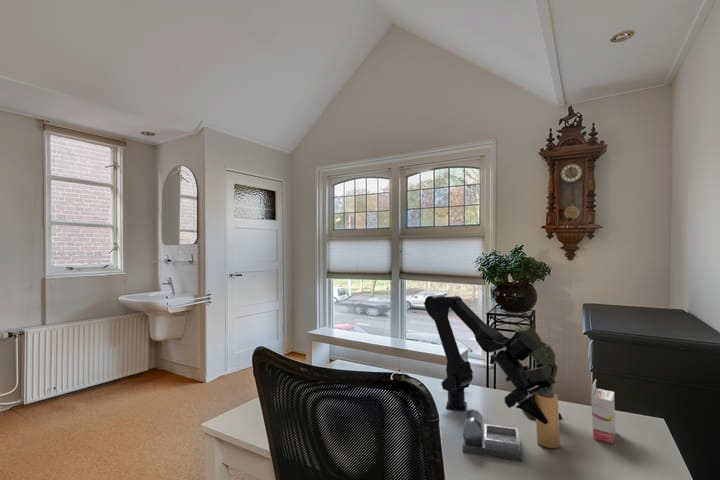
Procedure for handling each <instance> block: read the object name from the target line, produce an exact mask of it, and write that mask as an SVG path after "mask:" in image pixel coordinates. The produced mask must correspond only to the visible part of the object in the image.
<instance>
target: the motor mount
mask: <svg viewBox="0 0 720 480" xmlns="http://www.w3.org/2000/svg"><path fill="white" fill-rule="evenodd" d="M463 422H464V424H463V431H462V435H463V436H462V453H465V454H469V455H470V454H471V455H477V456H483V457H489V458H496V459H501V460H508V461H509V460H510V461H516V462H519V463H520V462H522V450H521V449H522V448H521V441H520V434H519V430H518V427H510V426H509V427H508V426H502V425H494V424H487V423H484V426H483V417H482V414H481V413H480V412H479V411H478V410H476V409H469V410H466V412H465V415H464V421H463Z"/></svg>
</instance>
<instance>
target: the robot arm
mask: <svg viewBox="0 0 720 480" xmlns="http://www.w3.org/2000/svg"><path fill="white" fill-rule="evenodd" d="M423 303H424V308H425V310H426V312H427V314H428V316H429V317H430V318H431V319H432V320H433V321H434V323H435V326H436V329H437V332H438V336H439V339H440V342H441V345H442V348H443V351H444V354H445V358H446V361H447V362H446V368H445V372H446V378H445V379H443V381H442V382H441V383H440V384H441V387H442V390H445V391H447V402H446V406H445V409H448V410H455V411H464V412H465V411H467V404H468V403H467V401H465V400H466V399H465V396H466V395H465V389H466V388H469V387H470V385H471V384H470V383H472V381H473V379H474V376H473V374H474V371H473V369H472V366H471V363H470V361H469V360H467V361H466V360H464V359H463V357H462V355H461V353H460V349H459V347H458V344H457V341H456V337H455V334H454V331H453V328H452V326H451V322H450V320H449V313H450V310H451V311H452V312H453V313H454V314H455V315H456V316H457V317H458V318H459V319H460V320H461V321H462V323H464V325H465V326H467V328H468V329H469V330H470V331H471V332H472V333H473V335H474V338H475V341H476V343H477V344H478V346H479V347H480V348H481V350H483V352H484V353H493V352H497V351H498V352H497V353H494V354H490V355H489V356H490V359H489V364H490V366H491V365H494V364H497V365H498V367H499V368H500V369H501V371H502V372H503V373H504V375H505V376H506V378H505V381H506V382H507V383H509V382H510V383H511V384H512V386H513V387H514V388H515V389H513V390H512V391H510V392H509V393H508V394H507V395H505V397H504V399H503V400H504V404H506V406H507V408H508V409H511V408H513V407H515V408H516V409H519V410H522V412H523V411H525V412H527V413H528V414H530V415H532V416H533V417H535V418H534V419H535V420H536V419H538V420H539V421H541V422H542V423H544V424H547V423H548V420H547V419H546V417H545V415H544V414H543V412H542V411H541V409H540V408H539V406H538V405H537V403H536V400H535V392H537V391H538V389H542V388H543V389H550V390H551V389H552V390H553V387H552V385H553V386H554V385H555V384H556V383H557V382H556V381H555V379H554V380H553V378H552V377H551V374H550V372H551V368H549V366H548V365H547V364H546V363H545V362H542V363H539V364H537V368H536V367H534V368H530V367H529V366H528V365H524V366H523V364H522V363H521V361H525V360H526V359H527V358H529V357H531V354H532V353H533V352H534V351H536V350H537V348H538V346H537V344H536V342H535V340H534V339H533V338H531V337H529V336H528V335H526V334H523V332H522V331H517V332H516V333H514V334H513V336H512V337H511V338H510V337H508V336H505V335H504V334H503V333H501V332H500V331H499V330H497V329H496V328H495V327H493V326H491V325H489V324H486V323H485V322H484V321H483V320H482V319H481V318H480V317H479V316H478V315H477V314H476V313H475V312H474V311H473V310H472V309H471V308H470V307H469V306H468V305H467V304H466V303H465V302H464V301H463V299H462V297H460V296H458V295H454V296H444V295H443V294H437V295H430V296H429V295H428V296H426V298H425V301H424V302H423ZM504 348H505V349H504ZM533 393H534V395H533ZM516 404H517V405H516Z"/></svg>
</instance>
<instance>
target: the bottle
mask: <svg viewBox="0 0 720 480" xmlns="http://www.w3.org/2000/svg"><path fill="white" fill-rule="evenodd" d="M535 400H536V403H537V405H538V406H539V408H540V409H541V411H542V412H543V414H544V415H545V417H546V419H547V420H548V423H547V424H544V423H542V422H541V421H539V420H538V419H536V418H535V423H536V441H537V444H538V445H541V446H542V447H545V448H547V449H558V448H560V446H561V439H560V437H561V436H560V419H559V413H560V412H559V396H558V395H557V394H556V393H555V391H554V390H553V389H552V390H550V389H543V388H542V389H538V391H537V392H535ZM558 412H559V413H558Z"/></svg>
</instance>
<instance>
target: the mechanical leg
mask: <svg viewBox="0 0 720 480" xmlns="http://www.w3.org/2000/svg"><path fill="white" fill-rule="evenodd" d="M513 331H514V332H515V333H516V332H517V331H522V332H523V334H526V335H528V336H529V337H531V338H533V339H534V340H535V342H536V344H537V346H538V348H537V350H536V351H534V352H533V353H532V354H531V355H530V357H532V359H533V361H535V366H534V368H537V364H539V363H542V362H545V363H546V364H547V365H548V366H549V368H551V372H550V374H551V377H552V378H553V380H554V381H555V378H556V375H557V372H558V367H559V366H558V365H557V364H556V353H555V352H554V351H553V348H552V347H551V345H549V344H547V343H546V342H544V341H542V339H541V337H540V336H539V333H538V332H537V331H536V330H535V328H534V327H532V326H530V325H525V326H523V327H515V329H514V330H513ZM515 333H514V334H515ZM553 387H554V385H552V389H551V390H552V391H553ZM532 395H534V393H533V394H532ZM522 412H523V413H524V414H525V416H527V418H528V419H536V418H535V417H533V416H532V415H530V414H528V413H527V412H525V411H523V410H522ZM558 413H559V420H560V419H561V420H562V419H563V417H562V414H561V413H560V412H559V411H558Z"/></svg>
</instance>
